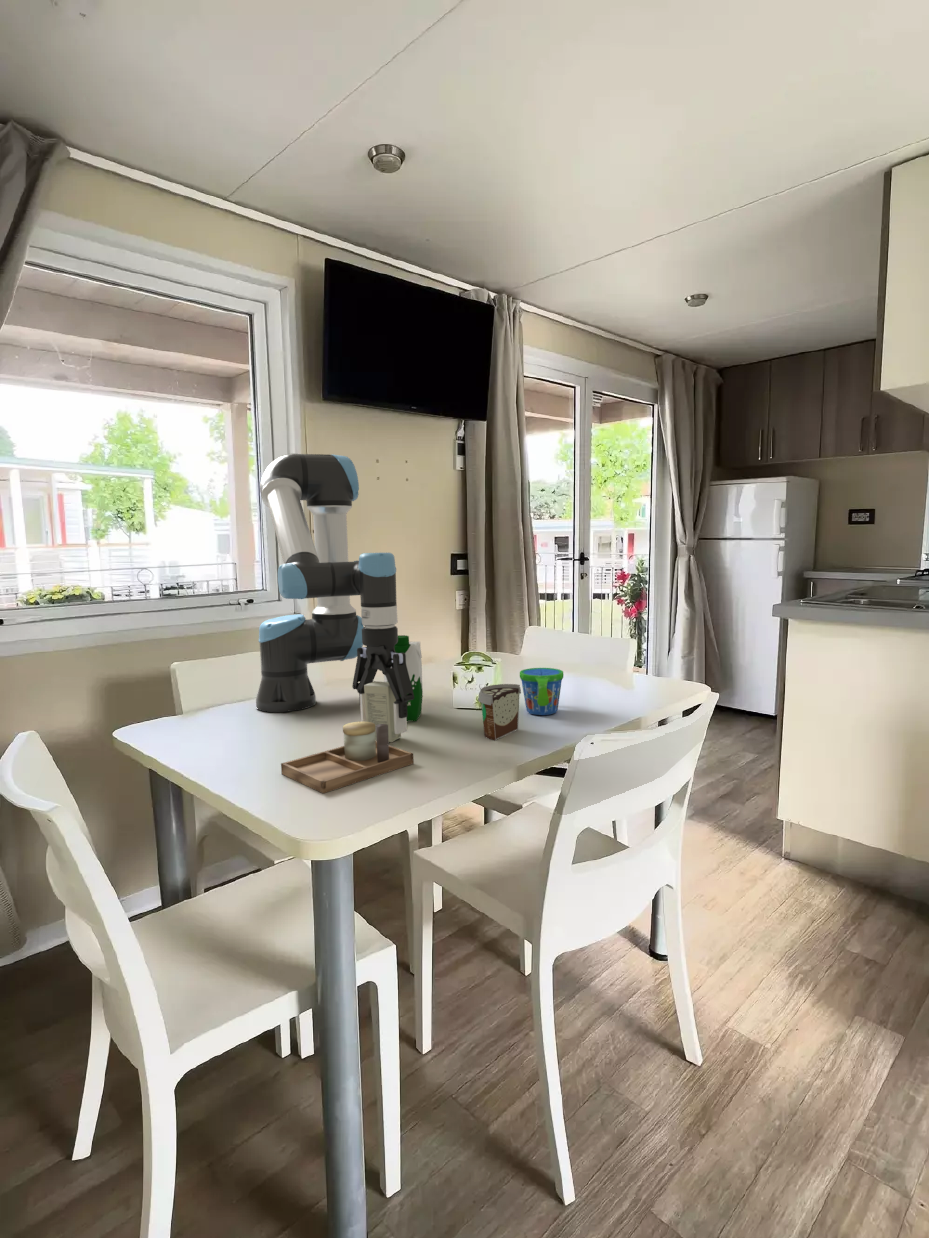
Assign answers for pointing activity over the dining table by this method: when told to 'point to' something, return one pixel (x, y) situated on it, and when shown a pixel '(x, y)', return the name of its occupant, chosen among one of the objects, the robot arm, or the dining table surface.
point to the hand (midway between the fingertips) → (383, 727)
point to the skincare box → (380, 707)
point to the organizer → (349, 759)
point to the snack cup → (541, 689)
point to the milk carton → (412, 674)
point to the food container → (500, 709)
